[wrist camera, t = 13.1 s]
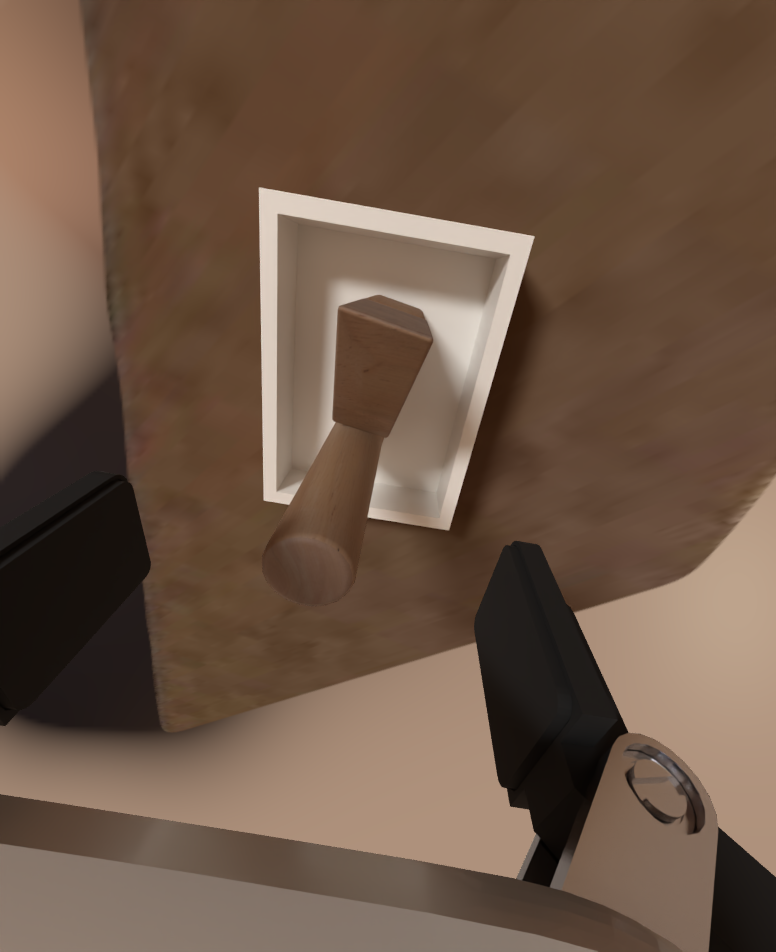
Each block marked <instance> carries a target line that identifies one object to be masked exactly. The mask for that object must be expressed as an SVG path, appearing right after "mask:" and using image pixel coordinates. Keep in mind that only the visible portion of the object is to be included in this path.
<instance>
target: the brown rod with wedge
mask: <svg viewBox="0 0 776 952" xmlns="http://www.w3.org/2000/svg"><path fill="white" fill-rule="evenodd" d="M432 344H433V336H432V333H431V331H430V328H429V325H428V322H427V321H426V320H425V317H424V314H423V311H422V310H421V309H419V308H416V307H413V306H411V305H408V304H405V303H402V302H399V301H396V300H394V299H391V298H388V297H385V296H382V295H374V296H371V297H368V298H363V299H360V300H357V301H353V302H350V303H347V304H343V305H340V306H339V307H338V312H337V332H336V352H335V371H334V391H333V411H332V420H333V421H334V422H336V423H335V424H334V426H333V428H332V430H331V432H330V433H329V435H328V437H327V439H326V440H325V442H324V444H323V446H322V448H321V449H320V451H319V453H318V455H317V456H316V458H315V460H314V462H313V464H312V465H311V467H310V469H309V471H308V473H307V474H306V476H305V478H304V480H303V481H302V483H301V485H300V487H299V489H298V490H297V492H296V494H295V496H294V497H293V499H292V501H291V503H290V505H289V506H288V508H287V510H286V512H285V514H284V515H283V517H282V519H281V521H280V522H279V524H278V526H277V528H276V530H275V531H274V533H273V535H272V537H271V538H270V540H269V542H268V544H267V546H266V548H265V550H264V553H263V555H262V571H263V574H264V577H265V579H266V581H267V583H268V584H269V585H270V586H271V588H272V589H273V590H274V591H275V592H276V593H278V594H279V595H281V596H282V597H283V598H285V599H287V600H289V601H292V602H294V603H297V604H301V605H307V606H323V605H328V604H331V603H334V602H336V601H338V600H339V599H341V598H342V597H343V596H345V595H346V594H347V593H348V592H349V590H350V589H351V587H352V585H353V584H354V582H355V578H356V573H357V568H358V563H359V558H360V553H361V547H362V542H363V537H364V532H365V527H366V522H367V517H368V512H369V507H370V502H371V497H372V492H373V487H374V482H375V477H376V471H377V466H378V461H379V456H380V451H381V446H382V443H383V440H384V438H387V437H388V436H389V435H390V433H391V430H392V428H393V426H394V424H395V422H396V420H397V418H398V416H399V413H400V411H401V409H402V407H403V405H404V403H405V401H406V399H407V397H408V394H409V392H410V390H411V388H412V386H413V384H414V382H415V380H416V378H417V375H418V373H419V371H420V369H421V367H422V365H423V363H424V361H425V358H426V356H427V354H428V352H429V350H430V348H431V346H432Z"/></svg>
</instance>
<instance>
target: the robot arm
mask: <svg viewBox="0 0 776 952" xmlns="http://www.w3.org/2000/svg"><path fill="white" fill-rule="evenodd" d="M150 566H151V561H150V557H149V553H148V549H147V545H146V540H145V536H144V532H143V528H142V524H141V519H140V515H139V511H138V507H137V503H136V499H135V494H134V490H133V487H132V485H131V484H130V483H129V482H127V479H126V478H125V477H124V476H122V475H119V474H112V473H106V472H101V471H94V472H91V473H89V474H88V475H86V476H84V477H83V478H81V479H79V480H78V481H76V482H75V483H73V484H71V485H69V486H68V487H66V488H64V489H63V490H61V491H59V492H58V493H56V494H55V495H53V496H51V497H50V498H48V499H46V500H45V501H43V502H41V503H40V504H39V505H37V506H35V507H33V508H32V509H30V510H28V511H27V512H25V513H23V514H22V515H20V516H18V517H17V518H15V519H14V520H12V521H10V522H9V523H7V524H5V525H4V526H2V527H0V725H2V726H6V725H7V723H8V722H9V721H10V720H11V719H12V718H13V717H14V716H15V715H16V714H17V712H18V711H19V710H22V709H24V708H26V707H28V706H29V705H31V704H32V703H33V702H34V701H35V700H36V699H37V698H38V696H39V695H40V694H41V693H42V692H43V691H44V690H45V689H46V688H47V686H48V685H49V684H50V683H51V682H52V681H53V680H54V679H55V678H56V676H57V675H58V674H59V673H60V672H61V671H62V670H63V669H64V668H65V666H66V665H67V664H68V663H69V662H70V661H71V660H72V659H73V658H74V656H75V655H76V654H77V653H78V652H79V651H80V650H81V649H82V648H83V646H84V645H85V644H86V643H87V642H88V641H89V640H90V639H91V638H92V636H93V635H94V634H95V633H96V632H97V631H98V630H99V629H100V627H101V626H102V625H103V624H104V623H105V622H106V621H107V620H108V618H109V617H110V616H111V615H112V614H113V613H114V612H115V611H116V610H117V608H118V607H119V606H120V605H121V604H122V603H123V602H124V601H125V599H126V598H127V597H128V596H129V595H130V594H131V593H132V592H133V591H134V590H135V588H136V587H137V586H138V585H139V584H140V583H141V582H142V581H143V580H144V578H145V577H146V576H147V575H148V573H149V570H150ZM474 630H475V637H476V643H477V649H478V656H479V663H480V668H481V675H482V682H483V688H484V694H485V700H486V707H487V713H488V720H489V726H490V732H491V739H492V745H493V751H494V758H495V764H496V770H497V776H498V780H499V783H500V785H501V786H502V787H504V788H507V791H508V797H509V803H510V806H511V807H517V808H523V809H529V810H530V815H531V820H532V824H533V829H534V831H535V833H536V835H535V837H534V840H533V842H532V844H531V847H530V849H529V851H528V853H527V855H526V858H525V860H524V862H523V865H522V867H521V869H520V871H519V874H518V876H517V878H516V879H514V878H509V877H503V876H498V875H493V874H487V873H481V872H476V871H471V870H465V869H459V868H455V867H449V866H444V865H438V864H433V863H428V862H422V861H417V860H411V859H405V858H398V857H393V856H387V855H380V854H374V853H368V852H362V851H356V850H350V849H343V848H337V847H331V846H325V845H319V844H313V843H307V842H301V841H294V840H288V839H282V838H276V837H269V836H264V835H257V834H251V833H245V832H238V831H232V830H226V829H220V828H213V827H207V826H200V825H194V824H187V823H181V822H175V821H169V820H162V819H156V818H150V817H143V816H137V815H130V814H124V813H118V812H111V811H105V810H99V809H92V808H86V807H78V806H72V805H67V804H60V803H54V802H47V801H40V800H34V799H27V798H21V797H14V796H7V795H1V794H0V952H776V877H775V876H774V875H773V874H771V873H770V872H769V871H768V870H767V869H766V868H765V867H763V866H762V865H761V864H760V863H759V862H758V861H757V860H755V859H754V858H753V857H752V856H751V855H750V854H749V853H747V852H746V851H745V850H744V849H743V848H742V847H741V846H739V845H738V844H737V843H736V842H735V841H734V840H733V839H732V838H730V837H729V836H728V835H727V834H726V833H725V832H723V831H722V830H721V829H720V828H719V827H718V823H717V814H716V812H715V809H714V807H713V804H712V802H711V799H710V796H709V795H708V793H707V792H706V790H705V788H704V787H703V785H702V784H701V782H700V780H699V779H698V777H697V776H696V775H695V774H694V773H693V771H692V770H691V769H690V768H689V767H688V766H687V764H686V763H685V762H684V761H683V760H682V759H680V758H679V757H678V756H677V755H676V754H675V753H674V752H673V751H671V750H670V749H669V748H667V747H666V746H664V745H663V744H661V743H660V742H658V741H656V740H655V739H652V738H650V737H647V736H645V735H642V734H635V733H628V731H627V728H626V726H625V724H624V722H623V719H622V717H621V715H620V713H619V711H618V709H617V707H616V704H615V702H614V700H613V698H612V695H611V693H610V691H609V689H608V687H607V685H606V682H605V680H604V678H603V676H602V674H601V672H600V669H599V667H598V665H597V663H596V661H595V659H594V656H593V654H592V652H591V650H590V647H589V645H588V644H587V641H586V639H585V637H584V634H583V632H582V630H581V628H580V626H579V623H578V621H577V619H576V617H575V615H574V613H573V611H572V610H571V608H570V607H569V606H568V605H567V604H566V603H565V600H564V598H563V596H562V594H561V592H560V589H559V587H558V585H557V583H556V580H555V578H554V576H553V574H552V571H551V569H550V567H549V565H548V563H547V560H546V558H545V556H544V554H543V551H542V549H541V547H540V546H539V545H537V544H532V543H526V542H520V541H514V542H513V543H512V544H511V546H508V545H506V546H505V547H504V548H503V550H502V553H501V555H500V558H499V560H498V562H497V565H496V567H495V570H494V572H493V575H492V577H491V580H490V582H489V585H488V587H487V590H486V592H485V594H484V597H483V599H482V602H481V604H480V607H479V609H478V612H477V614H476V617H475V623H474Z"/></svg>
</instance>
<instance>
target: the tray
mask: <svg viewBox="0 0 776 952" xmlns="http://www.w3.org/2000/svg"><path fill="white" fill-rule="evenodd" d="M259 221H260V285H261V350H262V415H263V479H264V501H270V502H276V503H283V504H289V505H290V503H291V501H292V499H293V497H294V496H295V494H296V492H297V490H298V489H299V487H300V485H301V483H302V481H303V480H304V478H305V476H306V474H307V473H308V471H309V469H310V467H311V465H312V464H313V462H314V460H315V458H316V456H317V455H318V453H319V451H320V449H321V448H322V446H323V444H324V442H325V440H326V439H327V437H328V435H329V433H330V432H331V430H332V428H333V426H334V424H335V423H336V422H334V421H333V420H332V411H333V391H334V371H335V352H336V332H337V312H338V307H339V306H340V305H343V304H347V303H350V302H353V301H357V300H360V299H363V298H368V297H371V296H374V295H382V296H385V297H388V298H391V299H394V300H396V301H399V302H402V303H405V304H408V305H411V306H413V307H416V308H419V309H421V310H422V311H423V314H424V317H425V320H426V321H427V322H428V325H429V328H430V331H431V333H432V336H433V344H432V346H431V348H430V350H429V352H428V354H427V356H426V358H425V361H424V363H423V365H422V367H421V369H420V371H419V373H418V375H417V378H416V380H415V382H414V384H413V386H412V388H411V390H410V392H409V394H408V397H407V399H406V401H405V403H404V405H403V407H402V409H401V411H400V413H399V416H398V418H397V420H396V422H395V424H394V426H393V428H392V430H391V433H390V435H389V436H388V437H387V438H384V440H383V443H382V446H381V451H380V456H379V461H378V466H377V471H376V477H375V482H374V487H373V492H372V497H371V502H370V507H369V512H368V517H369V518H375V519H381V520H387V521H393V522H399V523H406V524H412V525H418V526H424V527H430V528H436V529H443V530H449V528H450V525H451V522H452V518H453V515H454V511H455V508H456V504H457V501H458V498H459V494H460V491H461V487H462V484H463V480H464V477H465V473H466V470H467V467H468V463H469V460H470V456H471V453H472V449H473V446H474V443H475V439H476V436H477V432H478V429H479V425H480V422H481V418H482V415H483V412H484V408H485V405H486V401H487V398H488V394H489V391H490V388H491V384H492V381H493V377H494V374H495V370H496V367H497V363H498V360H499V357H500V353H501V350H502V346H503V343H504V339H505V336H506V333H507V329H508V326H509V322H510V319H511V315H512V312H513V309H514V305H515V302H516V298H517V295H518V291H519V288H520V284H521V281H522V278H523V274H524V271H525V267H526V264H527V260H528V257H529V254H530V250H531V247H532V243H533V240H534V236H530V235H524V234H518V233H513V232H507V231H502V230H496V229H490V228H485V227H479V226H473V225H468V224H462V223H456V222H451V221H445V220H440V219H434V218H428V217H423V216H417V215H411V214H406V213H400V212H394V211H389V210H383V209H378V208H372V207H366V206H361V205H355V204H349V203H344V202H338V201H332V200H327V199H321V198H316V197H310V196H304V195H299V194H293V193H287V192H282V191H276V190H270V189H265V188H259Z"/></svg>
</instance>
